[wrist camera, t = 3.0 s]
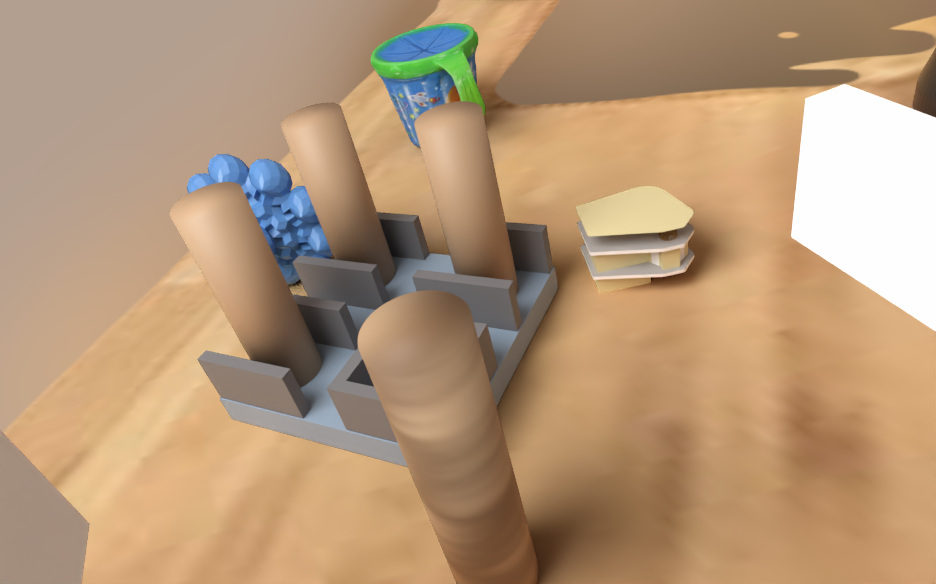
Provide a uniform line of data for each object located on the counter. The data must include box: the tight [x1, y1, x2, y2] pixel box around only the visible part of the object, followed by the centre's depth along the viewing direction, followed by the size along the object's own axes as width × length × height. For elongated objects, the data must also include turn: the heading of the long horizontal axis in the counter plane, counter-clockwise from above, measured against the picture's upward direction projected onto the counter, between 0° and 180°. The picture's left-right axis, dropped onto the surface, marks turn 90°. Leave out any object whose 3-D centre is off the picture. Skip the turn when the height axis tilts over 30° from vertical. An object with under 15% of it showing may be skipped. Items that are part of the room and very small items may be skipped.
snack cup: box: [371, 23, 486, 147], centre depth 70 cm, size 16×10×10 cm
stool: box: [170, 101, 558, 467], centre depth 42 cm, size 17×17×15 cm
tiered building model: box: [575, 186, 694, 294], centre depth 47 cm, size 10×9×6 cm
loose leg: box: [358, 290, 539, 584], centre depth 28 cm, size 4×4×16 cm
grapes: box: [187, 154, 333, 285], centre depth 52 cm, size 12×7×12 cm, turn 81°
